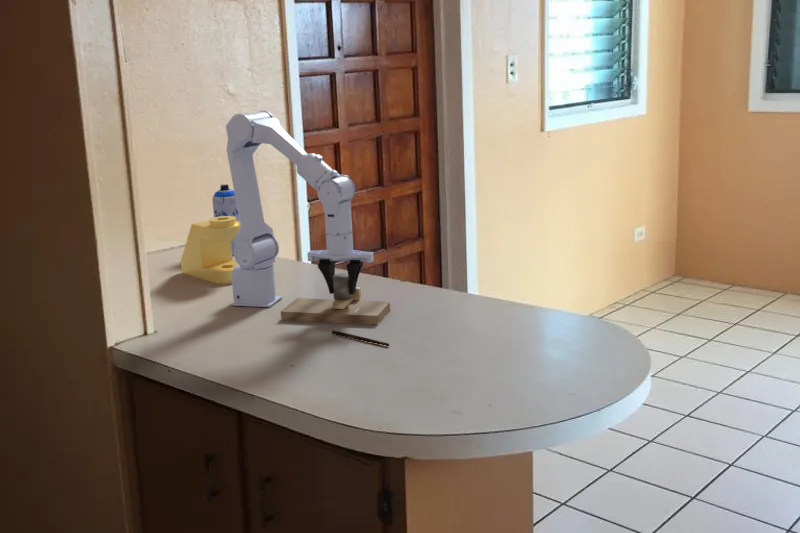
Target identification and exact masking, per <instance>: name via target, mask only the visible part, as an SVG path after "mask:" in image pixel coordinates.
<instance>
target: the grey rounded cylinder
mask: <svg viewBox="0 0 800 533" xmlns="http://www.w3.org/2000/svg"><path fill="white" fill-rule="evenodd" d="M332 277H333V300H334V301H333V309H344V308H345V307H346V306H347V305H348V304H349V303H350V302H351V301H352V300H357V301H362V288H361V286H360V287H359V286H356V291H355V293H354V294H350V292H349V277H348V273H335V275H333V276H332Z"/></svg>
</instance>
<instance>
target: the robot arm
mask: <svg viewBox="0 0 800 533" xmlns="http://www.w3.org/2000/svg"><path fill="white" fill-rule="evenodd" d="M225 128H226V134H227V144H226V155H227V160H228V166H229V171H230V175H231V181H232V186H233V191H234V193H235V198H236V204H237V209H238V215H239V220H240V228H239V230H238V231H237V233H236V235H235V236H234V240H235V247H234V255H233V256H234V259H235V260H234V261H236V262H237V263H238V264H239V265H236V266H235V267H234V269H233V272H232V283H231V285H232V287H231V288H232V297H233V303H232V306H239V307H258V308H270V307H272V306H274V305H275V304H276V303H277V302H278V301H280V300H281V299H282V298H283V295H281V294H280V295H279V294H276V293H277V292H276V291H277V290H276V280H275V268H274V267H275V266H274V263H276V262H275V261H276V258H277V256H278V254H279V250H280V246H279V242H278V240H277V239H276V236H275V235H274V231H273V228H272V227H271V226H270V225H269V224H267V222H265V218H264V213H263V212H264V211H263V206H262V201H261V196H260V190H259V185H258V180H257V174H256V168H255V167H256V166H255V160H254V154H255V152H256V151H257V149H258V148H259V147H260V145H262V144H264V145H265V144H266V145H267V144H268V145H271V146H272V147H273V148H275V150H277V151H278V152H280V153H281V154H282V155H283V156H284V157H286V158H287V159H288V160H289V161H291V162H292V164H295V165H296V173H297V174H298V175H299V176H300V177H301V178H302V179H303V180H305V182H307V183H308V185H309V186H311V187H312V188H313V189H314V190H315V191H316V194H317V197H318V200H319V201H320V203H321V204H322V209H323V210H322V211H323V212H324V223H325V238H326V239H325V242H326V249H321V250H320V249H319V250H309V251H307V261H308V262H313V261H318V264H317V267H318V270H319V271H320V273H321V274H322V276H323V277H324V280H325V282H326V285H327V289H328V291H329V294H332V295H334V293H333V277H332V276H333V275H335V274H336V262H349V263H347V264H346V266H345V267H346V270H347V271H346V272H347V274H348V277H349V292H350V294H354V293H355V291H356V287H357V283H358V279H359V276H360V272H361V269H362V268H363V265H364V263H367V264H371V263H372V262H374V261H375V258H374V257H375V255H374V254H375V253H374V252H373V251H363V250H356V249H354V239H353V238H354V237H353V222H352V221H353V220H352V218H353V217H352V199H353V198H354V197H355V195H356V186H355V183H354V181H353V180H352V179H351V177H350V176H349V175H347V174H339V172H338V171H337V170H336V169H333V168H332V167H331V166H330V165H329V164H327V163H326V162H325V160H323V158H324V157H323V156H322V155H320V154H316V153H314V152H313V153H312V152H311V153H307V152H306V151H305V150H304V148H302V146H300V144H299V143H298V142H297V141H295V139H294V138H293V137H291V135H290V134H289V133H288V132H287V131H286V130H285V129H284V127H282V126H281V123H280V119H278V118H277V117H275V116H274V115H273V113H271V112H270V111H267V110H265V109H264V110H259V111H255V112H248V113H236V114H234V115H233V116H232V117H231V118H230V119H229V121H228V122H227V124H226V125H225Z"/></svg>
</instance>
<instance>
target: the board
mask: <svg viewBox="0 0 800 533" xmlns="http://www.w3.org/2000/svg"><path fill="white" fill-rule="evenodd" d="M334 300H335V299H327V298H306V297H305V298H304V297H303V298H302V297H297V298H295V299H294V300H293V301H291V302H290V303H289V304H288V305H287V306H286V307H284V308H283V309H282V310H280V320H281V321H287V320H288V321H289V322H291V321H292V322H311V323H312V322H314V323H329V322H331V323H334V324H350V323H358V324H357V325H371V324H378V323H379V322H380V321H381V320H382V321H383V320H384V318H385V317H386V316H387V315H388V314H387V313H390V311H391V302H390V301H378V300H361V301H357V300H352V301H351V302H350V303H349V304H348V305H347V306H346V307H345V308H344V309H333V301H334ZM389 310H390V311H389ZM386 314H387V315H386ZM385 315H386V316H385ZM384 316H385V317H384ZM382 321H381V322H382ZM381 322H380V323H381ZM359 323H361V324H359ZM380 323H379V324H380ZM379 324H378V325H379Z"/></svg>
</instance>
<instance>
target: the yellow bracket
mask: <svg viewBox="0 0 800 533" xmlns="http://www.w3.org/2000/svg"><path fill="white" fill-rule="evenodd" d="M239 228H240V222H238V221H237V220H236V217H234V216H220V217H214V216H213V217H212V218H209V220H205V221H201V222H196V223H191V225H190V228H189V232H188V235H187V239H186V242H185V246H184V250H183V252H182V256H181V258H180V259H181V260H180V265H181V273H182V274H185V275H187V276H191V277H194V278H197V279H200V280H204V281H206V282H210V283H213V284H216V285H217V284H218V285H227V284H228V285H229V283H230V284H232V272H233V269H234V267H235V266H236V265H239V264H238V263H237V262H236V260H233V256H232V249H231V241H232V240H234V236H235V235H236V233H237V231H238V230H239Z"/></svg>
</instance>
